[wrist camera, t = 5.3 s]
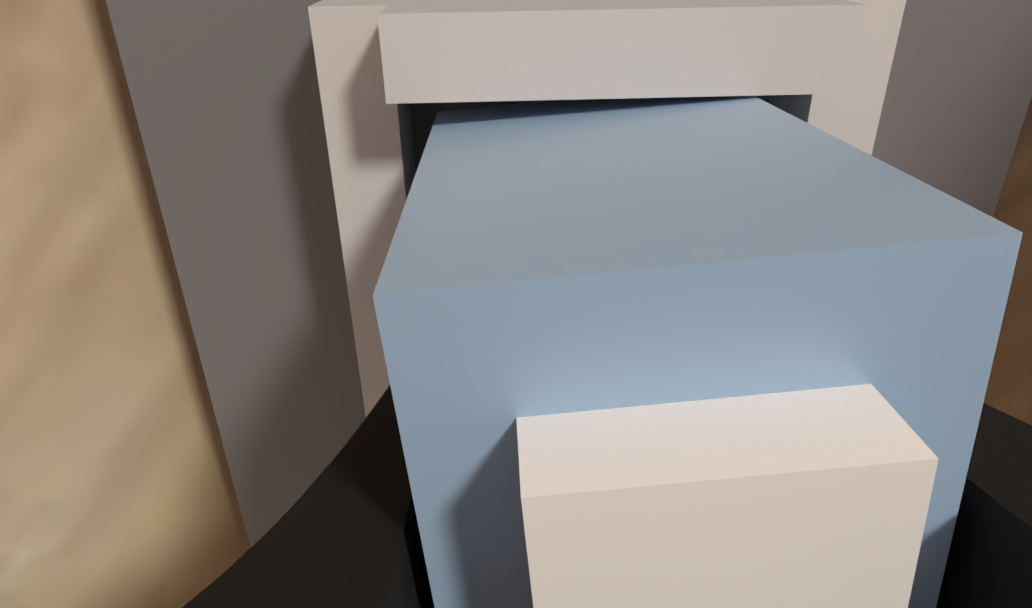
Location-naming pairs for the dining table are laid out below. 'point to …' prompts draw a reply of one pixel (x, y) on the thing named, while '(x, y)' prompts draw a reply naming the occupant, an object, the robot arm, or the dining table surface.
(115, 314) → the dining table surface
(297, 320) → the port panel
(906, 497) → the plug
